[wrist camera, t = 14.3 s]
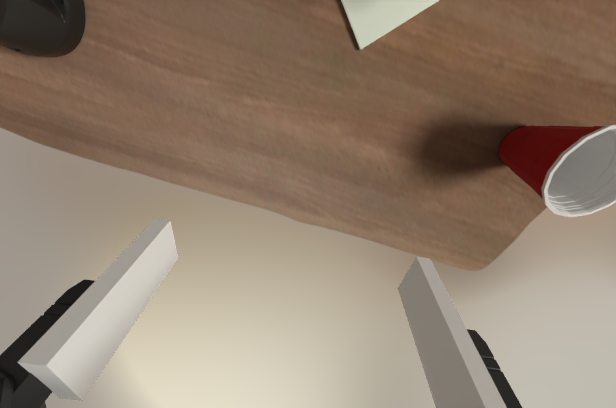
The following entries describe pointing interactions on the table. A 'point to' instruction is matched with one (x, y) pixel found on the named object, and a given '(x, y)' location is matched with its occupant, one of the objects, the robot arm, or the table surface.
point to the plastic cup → (565, 165)
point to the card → (380, 16)
